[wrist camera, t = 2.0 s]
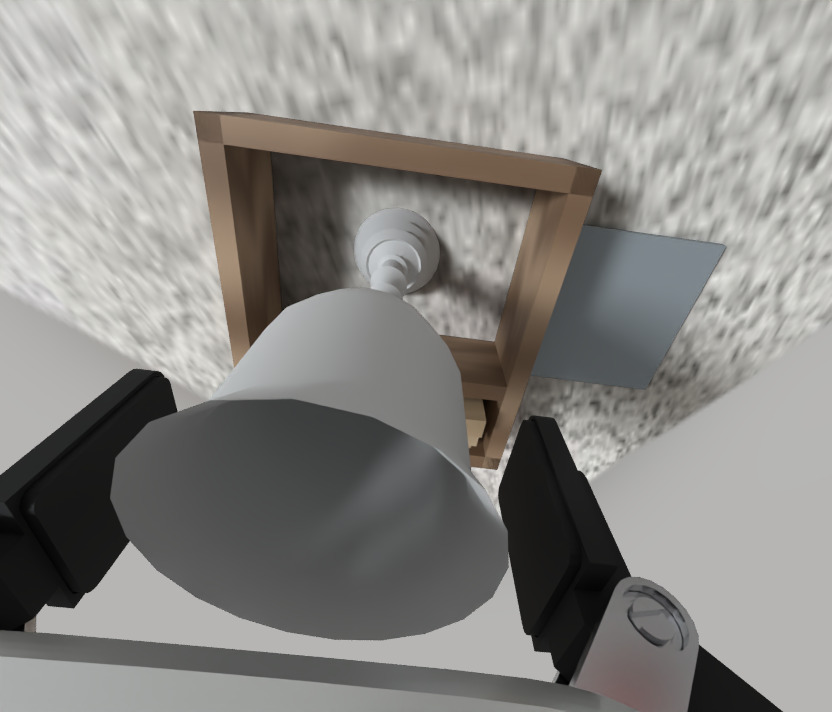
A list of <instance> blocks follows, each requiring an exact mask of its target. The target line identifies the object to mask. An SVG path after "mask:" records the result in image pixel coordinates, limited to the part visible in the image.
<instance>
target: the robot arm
mask: <svg viewBox="0 0 832 712" xmlns="http://www.w3.org/2000/svg"><path fill="white" fill-rule="evenodd" d="M176 412H177V408H176V404H175V400H174V396H173V392H172V388H171V384H170V381H169V380H168V379H167V378H164V375H163V374H162V373H161V372H159V371H151V370H143V369H133V370H131V371H130V372H128V373H127V374H126V375H124V376H123V377H122V378H121V379H120V380H118V381H117V382H116V383H115V384H113V385H112V386H111V387H110V388H108V389H107V390H106V391H105V392H103V393H102V394H101V395H100V396H98V397H97V398H96V399H95V400H93V401H92V402H91V403H90V404H89V405H87V406H86V407H85V408H83V409H82V410H81V411H80V412H78V413H77V414H76V415H75V416H73V417H72V418H71V419H70V420H69V421H67V422H66V423H65V424H63V425H62V426H61V427H60V428H59V429H57V430H56V431H55V432H54V433H52V434H51V435H50V436H49V437H47V438H46V439H45V440H44V441H42V442H41V443H40V444H39V445H37V446H36V447H35V448H34V449H32V450H31V451H30V452H29V453H27V454H26V455H25V456H24V457H22V458H21V459H20V460H19V461H17V462H16V463H15V464H14V465H12V466H11V467H10V468H9V469H8V470H6V471H5V472H4V473H2V474H1V475H0V712H783V711H781V710H780V709H779V708H777V707H776V706H775V705H774V704H773V703H771V702H770V701H769V700H768V699H766V698H765V697H764V696H763V695H761V694H760V693H759V692H757V691H756V690H755V689H754V688H753V687H751V686H750V685H749V684H747V683H746V682H745V681H744V680H743V679H741V678H740V677H738V676H737V675H736V674H735V673H734V672H732V671H731V670H730V669H729V668H728V667H726V666H725V665H724V664H723V663H721V662H720V661H719V660H717V659H716V658H715V657H714V656H712V655H711V654H710V653H709V652H707V651H706V650H705V649H704V648H702V647H701V646H700V645H699V641H698V640H699V639H698V633H697V630H696V627H695V624H694V622H693V620H692V619H691V617H690V615H689V614H688V612H687V611H686V609H685V608H684V607H683V606H682V605H681V604H680V602H679V601H678V600H677V599H676V598H675V597H674V596H673V595H671V594H670V593H669V592H668V591H667V590H666V589H664V588H663V587H661V586H659V585H658V584H656V583H654V582H652V581H650V580H647V579H644V578H641V577H631V575H630V573H629V571H628V568H627V566H626V564H625V562H624V559H623V557H622V555H621V553H620V551H619V549H618V546H617V544H616V542H615V540H614V538H613V535H612V533H611V531H610V529H609V527H608V524H607V522H606V520H605V518H604V516H603V513H602V511H601V509H600V507H599V505H598V503H597V500H596V498H595V496H594V494H593V491H592V489H591V487H590V485H589V483H588V480H587V478H586V477H585V475H584V474H583V473H582V472H581V471H578V470H577V468H576V466H575V463H574V461H573V459H572V457H571V454H570V452H569V450H568V447H567V445H566V443H565V441H564V438H563V436H562V434H561V432H560V429H559V427H558V425H557V422H556V421H555V419H554V418H550V417H542V416H531V417H530V418H529V420H523V422H522V424H521V426H520V429H519V432H518V435H517V438H516V441H515V443H514V446H513V449H512V452H511V455H510V458H509V461H508V463H507V466H506V469H505V472H504V475H503V478H502V481H501V483H500V486H499V493H498V498H499V504H500V510H501V515H502V520H503V523H504V525H505V527H506V529H507V531H508V552H509V557H510V562H511V567H512V573H513V578H514V583H515V588H516V593H517V599H518V604H519V609H520V615H521V620H522V625H523V629H524V632H525V633H526V635H531V637H532V641H533V646H534V651H538V652H550V653H551V656H552V660H553V664H554V667H555V668H556V669H557V670H558V671H557V673H556V675H555V677H554V679H553V681H552V683H551V682H544V681H539V680H533V679H527V678H518V677H509V676H501V675H492V674H484V673H475V672H466V671H458V670H448V669H438V668H428V667H416V666H407V665H396V664H386V663H375V662H365V661H354V660H344V659H334V658H323V657H312V656H300V655H289V654H278V653H268V652H257V651H246V650H235V649H224V648H212V647H201V646H190V645H179V644H166V643H155V642H144V641H132V640H120V639H108V638H96V637H84V636H73V635H61V634H50V633H36V615H37V614H38V612H39V611H40V610H41V609H42V607H43V606H44V605H45V604H47V605H48V606H54V607H66V608H75V606H76V605H77V604H78V602H79V601H80V599H81V598H82V597H83V595H84V594H85V593H88V592H91V591H92V590H93V589H94V588H95V587H96V586H97V585H98V584H99V582H100V581H101V580H102V578H103V577H104V575H105V574H106V573H107V571H108V570H109V569H110V567H111V566H112V565H113V563H114V562H115V560H116V559H117V558H118V556H119V555H120V554H121V552H122V551H123V549H124V548H125V547H126V545H127V544H128V543H129V541H130V540H129V539H128V538H127V537H126V535H125V532H124V530H123V528H122V525H121V523H120V520H119V518H118V516H117V513H116V511H115V509H114V506H113V504H112V501H111V499H110V495H111V487H112V480H113V473H114V465H115V458H116V457H117V456H118V455H119V453H120V452H121V451H122V450H123V449H124V448H125V447H126V446H127V445H128V444H129V443H130V442H131V441H132V440H133V439H134V438H135V436H136V435H137V434H138V433H139V432H140V431H141V430H142V429H143V428H144V427H145V426H146V425H147V424H148V423H149V422H151V421H154V420H157V419H159V418H162V417H165V416H168V415H171V414H173V413H176Z"/></svg>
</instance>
